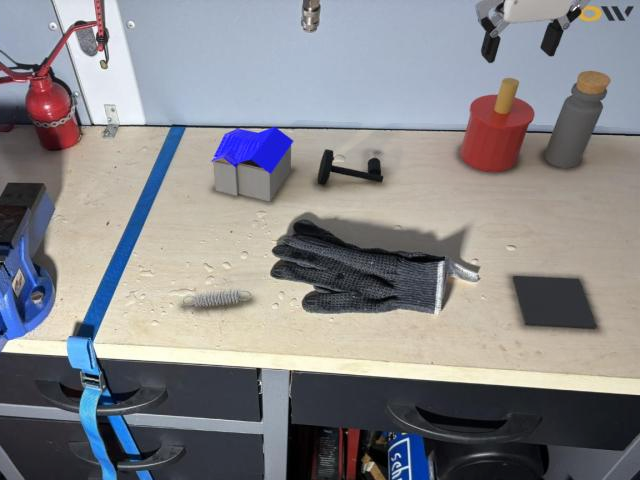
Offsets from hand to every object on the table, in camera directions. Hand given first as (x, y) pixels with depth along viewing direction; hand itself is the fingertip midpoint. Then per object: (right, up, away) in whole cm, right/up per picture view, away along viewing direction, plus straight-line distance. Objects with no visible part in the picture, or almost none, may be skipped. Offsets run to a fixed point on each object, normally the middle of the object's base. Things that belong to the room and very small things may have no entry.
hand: (517, 55), depth 94 cm
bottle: (+13, -13, +12) cm, 22 cm away
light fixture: (-24, -15, +13) cm, 31 cm away
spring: (-46, -39, -7) cm, 61 cm away
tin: (+1, -12, +14) cm, 18 cm away
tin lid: (+1, -7, +7) cm, 10 cm away
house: (-41, -17, +12) cm, 46 cm away
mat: (0, -38, -10) cm, 40 cm away
